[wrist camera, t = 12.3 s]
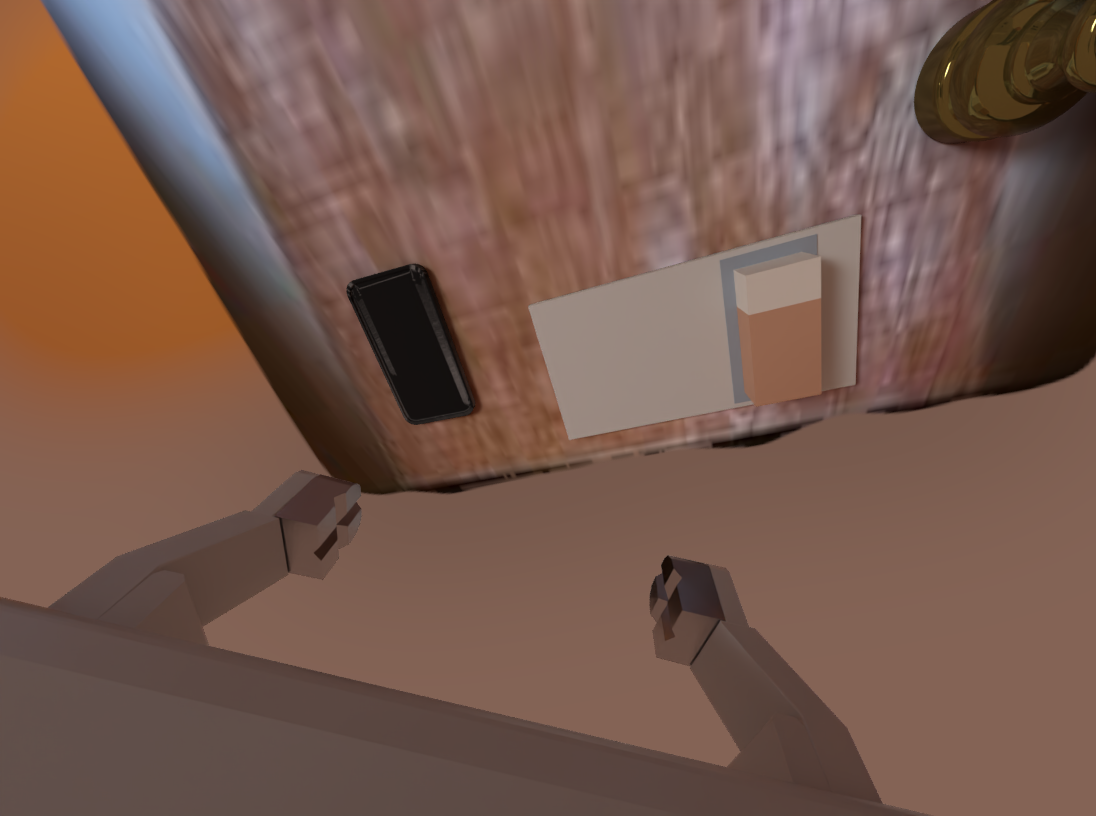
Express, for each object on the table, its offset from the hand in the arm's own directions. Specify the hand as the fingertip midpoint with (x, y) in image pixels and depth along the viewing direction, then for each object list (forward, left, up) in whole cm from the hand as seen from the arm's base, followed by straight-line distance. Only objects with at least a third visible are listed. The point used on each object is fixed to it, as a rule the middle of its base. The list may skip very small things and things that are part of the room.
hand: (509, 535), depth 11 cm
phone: (+8, -13, -29) cm, 33 cm away
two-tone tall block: (-2, +17, -27) cm, 32 cm away
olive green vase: (-21, +22, -28) cm, 41 cm away
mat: (+1, +11, -28) cm, 30 cm away
